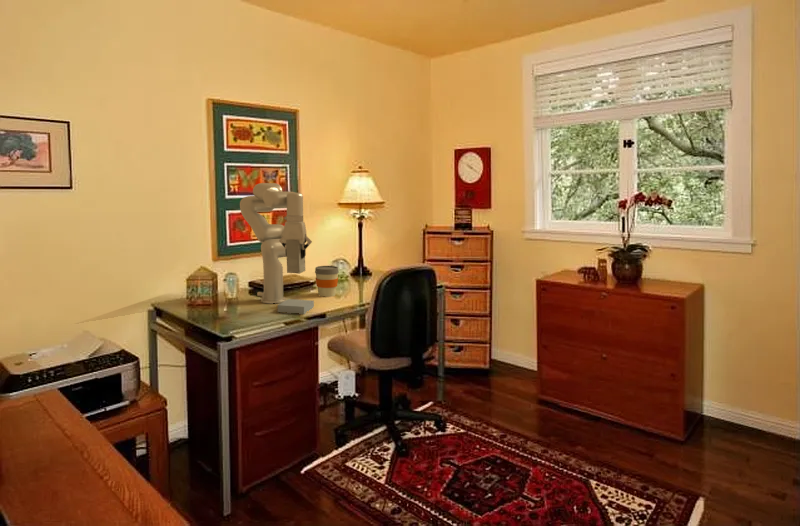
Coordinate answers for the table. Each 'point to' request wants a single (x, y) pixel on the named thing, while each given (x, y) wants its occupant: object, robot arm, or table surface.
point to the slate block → (296, 306)
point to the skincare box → (294, 257)
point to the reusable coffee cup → (326, 280)
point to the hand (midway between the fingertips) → (295, 257)
